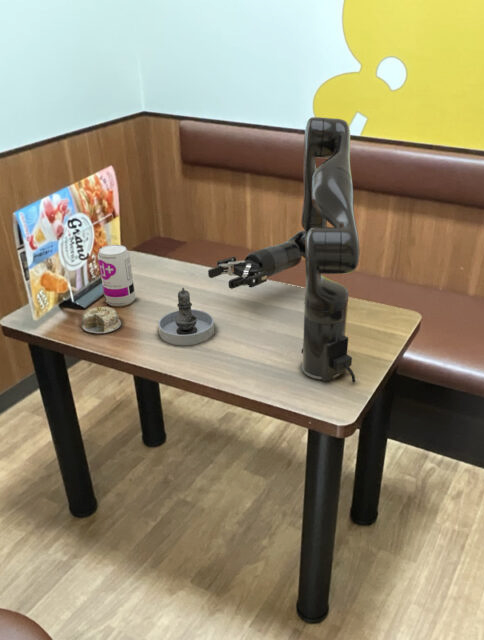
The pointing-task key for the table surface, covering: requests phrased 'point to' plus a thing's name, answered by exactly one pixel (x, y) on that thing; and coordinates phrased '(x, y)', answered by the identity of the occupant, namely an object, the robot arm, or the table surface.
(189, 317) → the dark grey chess piece
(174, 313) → the tin
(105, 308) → the cake
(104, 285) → the supplement can
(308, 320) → the robot arm
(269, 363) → the table surface
